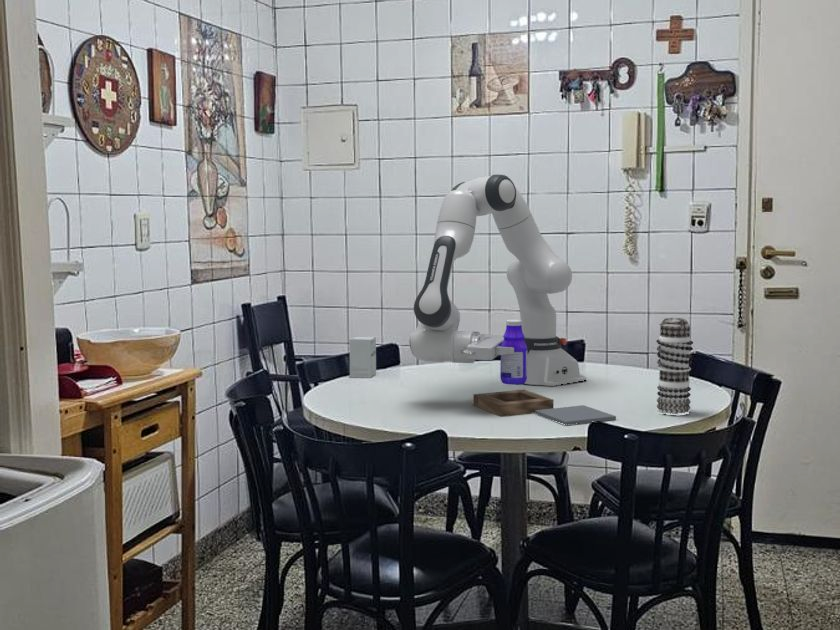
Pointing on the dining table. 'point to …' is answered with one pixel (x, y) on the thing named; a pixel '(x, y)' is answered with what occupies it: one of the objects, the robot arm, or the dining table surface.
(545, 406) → the wooden square tray
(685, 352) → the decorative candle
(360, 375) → the supplement box
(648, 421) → the dining table surface
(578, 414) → the slate mat
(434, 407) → the dining table surface
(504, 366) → the bottle
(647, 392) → the dining table surface
